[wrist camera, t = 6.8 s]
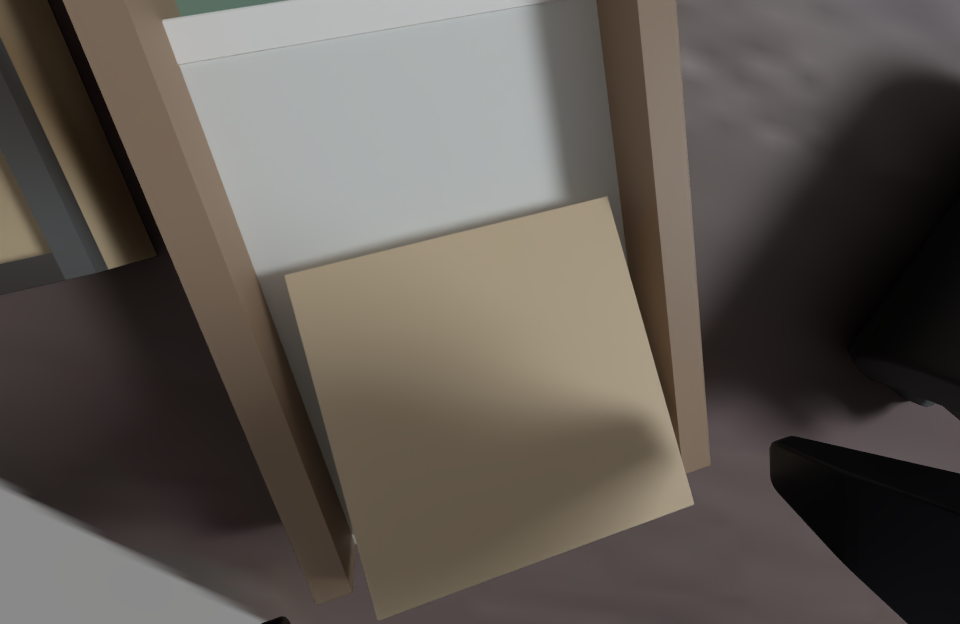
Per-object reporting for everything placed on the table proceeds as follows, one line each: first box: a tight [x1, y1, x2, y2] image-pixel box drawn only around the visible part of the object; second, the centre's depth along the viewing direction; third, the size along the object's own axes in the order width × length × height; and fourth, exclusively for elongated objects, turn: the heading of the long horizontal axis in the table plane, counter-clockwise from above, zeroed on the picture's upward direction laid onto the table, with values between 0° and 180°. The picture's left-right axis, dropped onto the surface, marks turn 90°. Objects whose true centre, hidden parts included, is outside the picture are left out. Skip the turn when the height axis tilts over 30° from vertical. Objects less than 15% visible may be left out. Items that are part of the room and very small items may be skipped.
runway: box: [63, 0, 711, 621], centre depth 9 cm, size 19×10×5 cm, turn 12°
